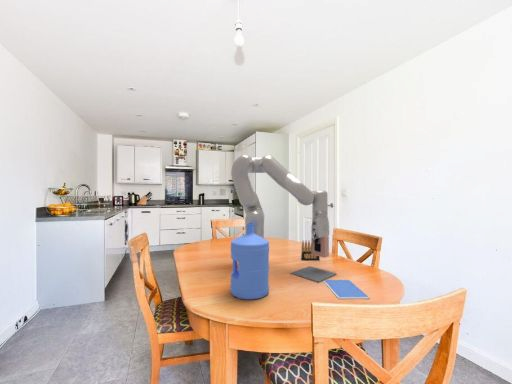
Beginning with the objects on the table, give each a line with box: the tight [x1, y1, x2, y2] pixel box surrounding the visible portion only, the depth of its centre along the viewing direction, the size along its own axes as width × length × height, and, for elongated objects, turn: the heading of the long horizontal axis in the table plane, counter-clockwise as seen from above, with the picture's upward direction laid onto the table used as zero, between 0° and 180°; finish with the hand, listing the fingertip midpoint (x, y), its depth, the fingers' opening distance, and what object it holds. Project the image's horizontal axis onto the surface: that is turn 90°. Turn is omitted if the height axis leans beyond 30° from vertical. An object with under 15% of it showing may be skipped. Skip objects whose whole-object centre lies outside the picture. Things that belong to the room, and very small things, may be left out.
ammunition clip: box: [300, 240, 321, 262], centre depth 149 cm, size 11×2×12 cm, turn 90°
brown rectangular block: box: [310, 234, 330, 259], centre depth 127 cm, size 4×8×10 cm, turn 42°
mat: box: [290, 265, 337, 283], centre depth 123 cm, size 16×16×1 cm
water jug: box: [229, 223, 270, 301], centre depth 101 cm, size 16×16×28 cm
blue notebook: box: [322, 279, 370, 300], centre depth 105 cm, size 19×13×1 cm, turn 2°
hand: (319, 250), depth 127 cm, fingers closed on brown rectangular block, 3 cm apart
